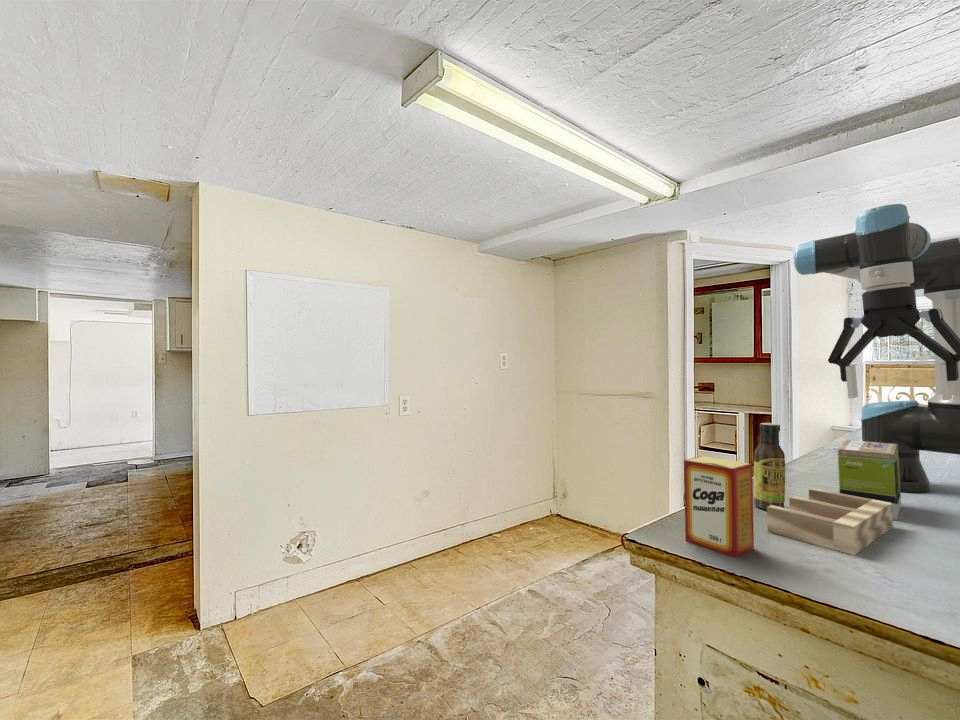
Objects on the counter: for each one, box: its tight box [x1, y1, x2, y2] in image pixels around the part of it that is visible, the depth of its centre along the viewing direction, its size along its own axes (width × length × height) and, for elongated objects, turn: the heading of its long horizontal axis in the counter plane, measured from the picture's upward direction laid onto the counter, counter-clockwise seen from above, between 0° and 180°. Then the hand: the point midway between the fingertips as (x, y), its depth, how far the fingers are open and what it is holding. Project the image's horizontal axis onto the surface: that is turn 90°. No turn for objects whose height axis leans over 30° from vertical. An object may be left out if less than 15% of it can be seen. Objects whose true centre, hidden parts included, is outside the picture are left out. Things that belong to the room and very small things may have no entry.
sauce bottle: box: [753, 422, 786, 510], centre depth 106 cm, size 6×6×20 cm
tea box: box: [837, 440, 902, 521], centre depth 104 cm, size 15×10×15 cm
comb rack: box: [766, 487, 894, 556], centre depth 91 cm, size 23×14×5 cm, turn 125°
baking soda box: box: [683, 455, 755, 558], centre depth 85 cm, size 10×6×16 cm
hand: (897, 398), depth 86 cm, fingers open, 13 cm apart
